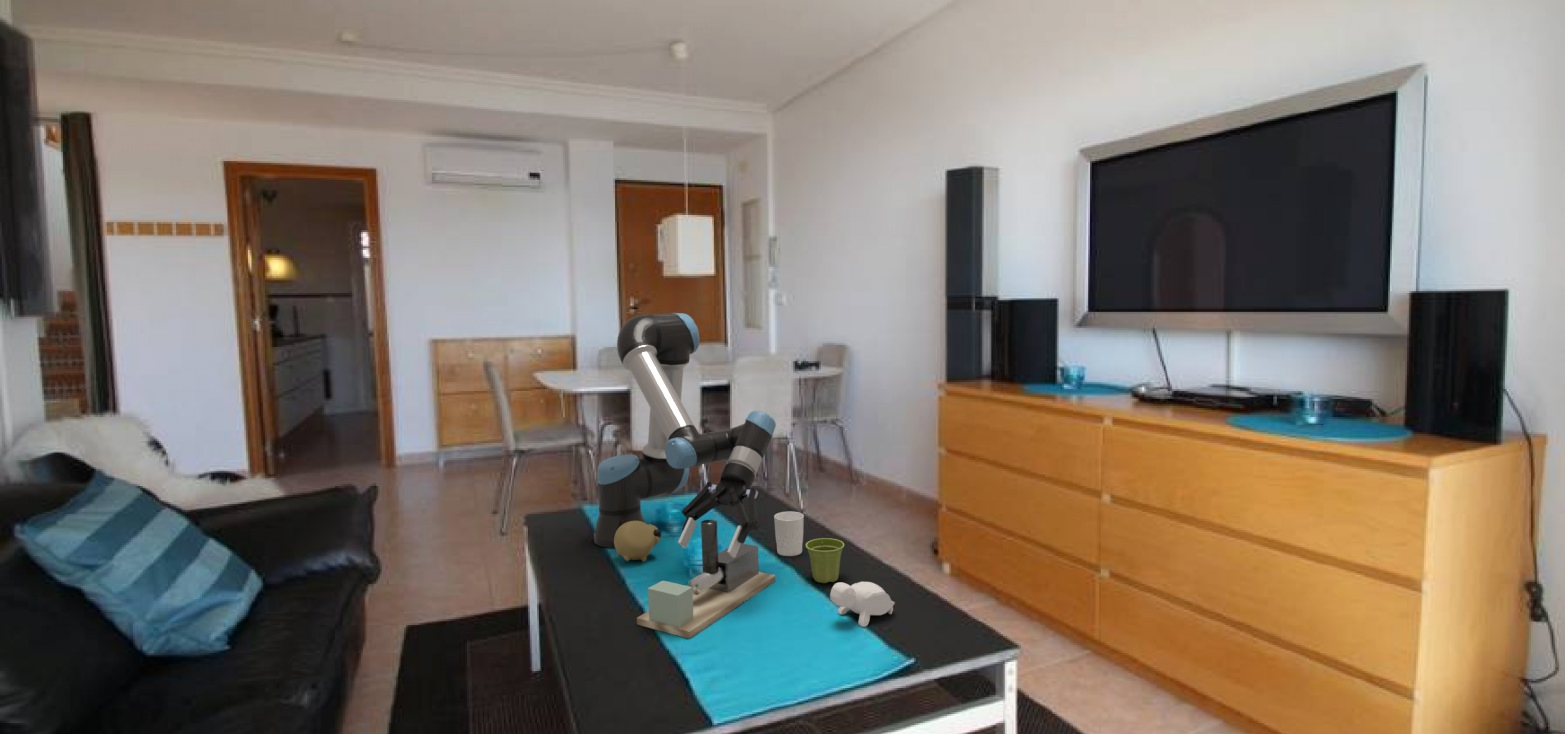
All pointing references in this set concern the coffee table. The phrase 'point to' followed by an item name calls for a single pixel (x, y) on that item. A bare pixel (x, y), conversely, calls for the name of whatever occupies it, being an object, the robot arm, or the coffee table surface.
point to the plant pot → (825, 558)
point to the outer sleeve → (738, 567)
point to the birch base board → (711, 606)
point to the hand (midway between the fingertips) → (705, 550)
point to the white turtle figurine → (861, 600)
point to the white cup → (789, 533)
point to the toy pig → (636, 540)
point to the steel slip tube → (708, 559)
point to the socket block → (670, 603)
